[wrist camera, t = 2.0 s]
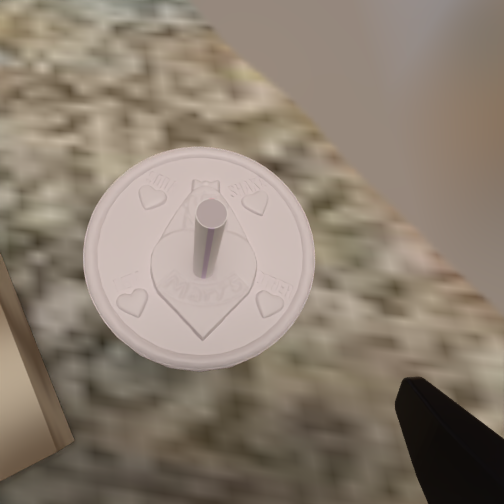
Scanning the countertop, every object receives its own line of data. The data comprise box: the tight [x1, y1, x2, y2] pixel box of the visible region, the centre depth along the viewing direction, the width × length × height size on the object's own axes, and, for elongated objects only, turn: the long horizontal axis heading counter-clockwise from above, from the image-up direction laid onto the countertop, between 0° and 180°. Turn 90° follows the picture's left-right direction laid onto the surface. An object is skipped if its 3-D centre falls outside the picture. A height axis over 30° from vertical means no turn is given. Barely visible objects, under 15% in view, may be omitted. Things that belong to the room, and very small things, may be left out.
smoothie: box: [83, 147, 315, 372], centre depth 14 cm, size 6×6×14 cm
